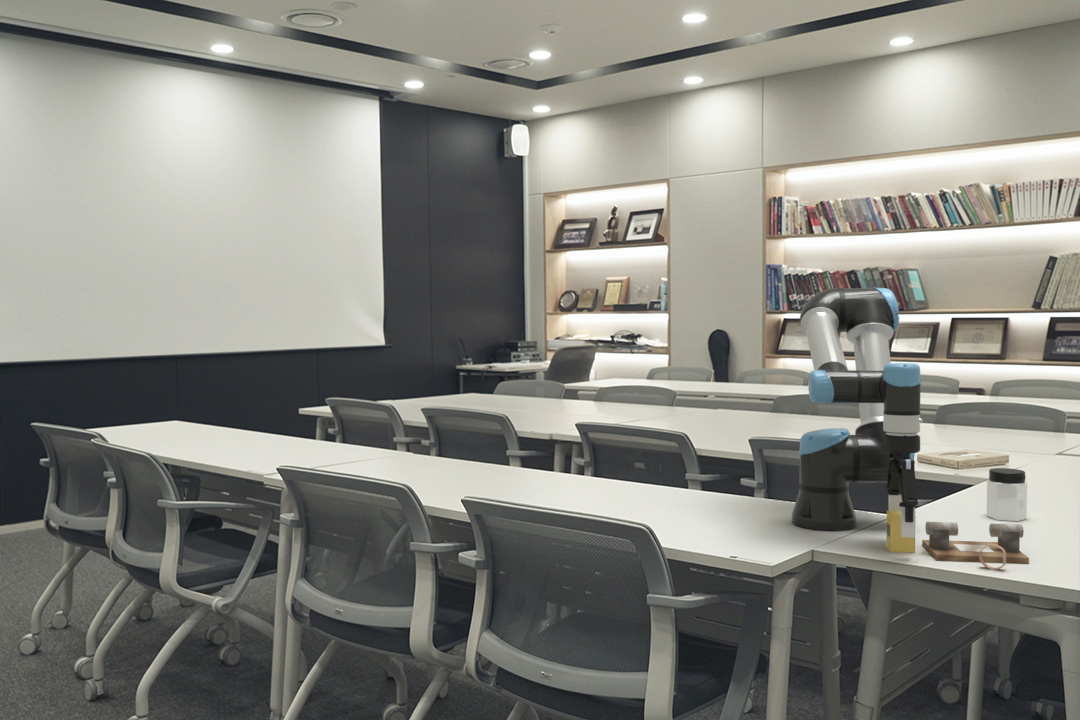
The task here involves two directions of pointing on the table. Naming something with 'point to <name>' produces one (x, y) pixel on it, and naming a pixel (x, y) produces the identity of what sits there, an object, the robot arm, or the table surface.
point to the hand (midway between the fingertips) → (901, 530)
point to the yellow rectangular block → (897, 534)
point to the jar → (1007, 494)
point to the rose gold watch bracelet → (986, 564)
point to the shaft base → (974, 544)
